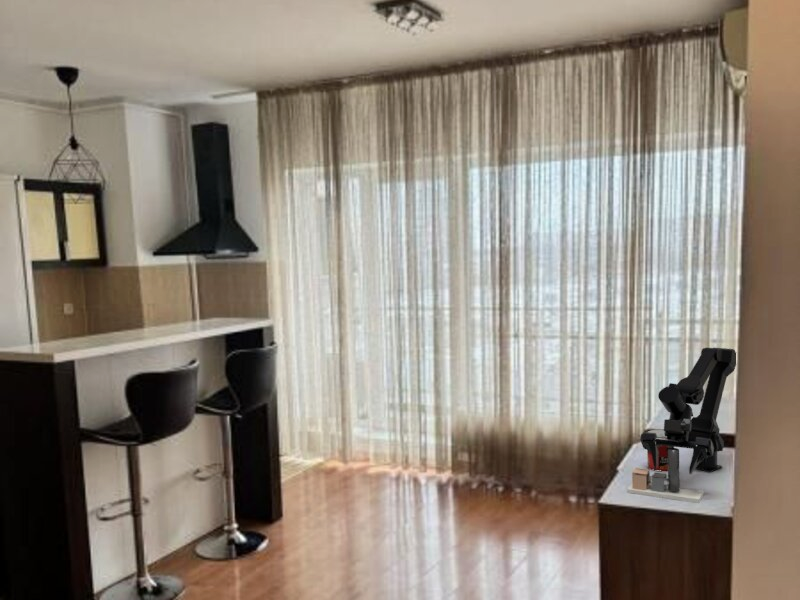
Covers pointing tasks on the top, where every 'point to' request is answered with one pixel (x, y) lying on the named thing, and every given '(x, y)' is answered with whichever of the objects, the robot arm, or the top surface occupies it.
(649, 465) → the canned food
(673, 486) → the slide bolt
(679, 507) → the top surface
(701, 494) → the base board
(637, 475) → the tan block
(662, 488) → the sleeve
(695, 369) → the robot arm
